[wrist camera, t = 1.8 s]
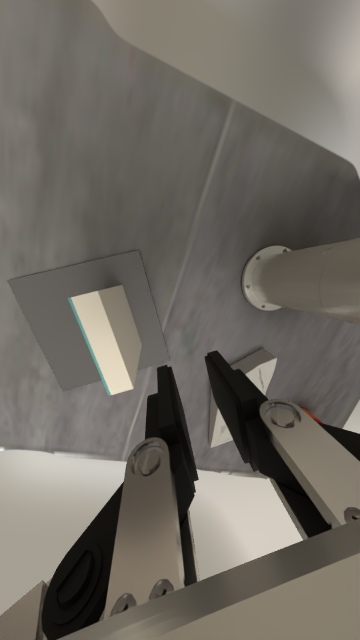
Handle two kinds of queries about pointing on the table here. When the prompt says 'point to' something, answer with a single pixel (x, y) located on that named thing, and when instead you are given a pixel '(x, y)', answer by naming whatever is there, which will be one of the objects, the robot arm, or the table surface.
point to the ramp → (260, 373)
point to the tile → (110, 336)
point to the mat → (62, 326)
